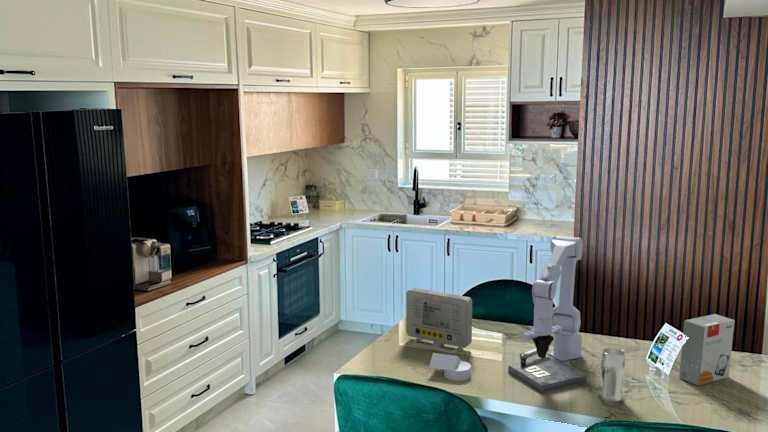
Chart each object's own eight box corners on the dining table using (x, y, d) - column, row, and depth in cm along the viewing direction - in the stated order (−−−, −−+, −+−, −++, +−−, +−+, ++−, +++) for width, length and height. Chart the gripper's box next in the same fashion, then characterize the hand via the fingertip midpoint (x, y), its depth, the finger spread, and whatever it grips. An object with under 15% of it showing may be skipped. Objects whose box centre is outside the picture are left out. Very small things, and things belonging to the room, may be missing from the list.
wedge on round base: (429, 376, 222) (467, 382, 218) (429, 357, 221) (467, 362, 217) (436, 366, 231) (473, 371, 226) (436, 348, 230) (473, 352, 225)
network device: (474, 348, 247) (475, 296, 244) (463, 355, 240) (464, 302, 236) (414, 335, 261) (414, 285, 257) (402, 342, 254) (402, 291, 250)
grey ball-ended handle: (524, 360, 224) (524, 355, 224) (518, 358, 226) (518, 353, 225) (548, 350, 233) (549, 345, 232) (543, 348, 234) (543, 343, 234)
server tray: (550, 362, 233) (551, 351, 232) (586, 382, 217) (587, 370, 216) (508, 372, 226) (508, 360, 225) (542, 392, 210) (542, 380, 209)
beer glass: (595, 393, 209) (598, 347, 206) (617, 392, 210) (620, 346, 207) (605, 403, 202) (607, 356, 200) (627, 402, 203) (630, 355, 200)
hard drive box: (698, 387, 213) (703, 327, 210) (678, 378, 220) (682, 320, 216) (730, 377, 220) (735, 319, 217) (709, 369, 227) (714, 312, 223)
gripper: (551, 309, 221) (550, 348, 223) (517, 317, 214) (516, 357, 216) (566, 315, 215) (565, 355, 217) (531, 323, 208) (530, 364, 210)
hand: (541, 357), depth 216 cm, fingers closed
